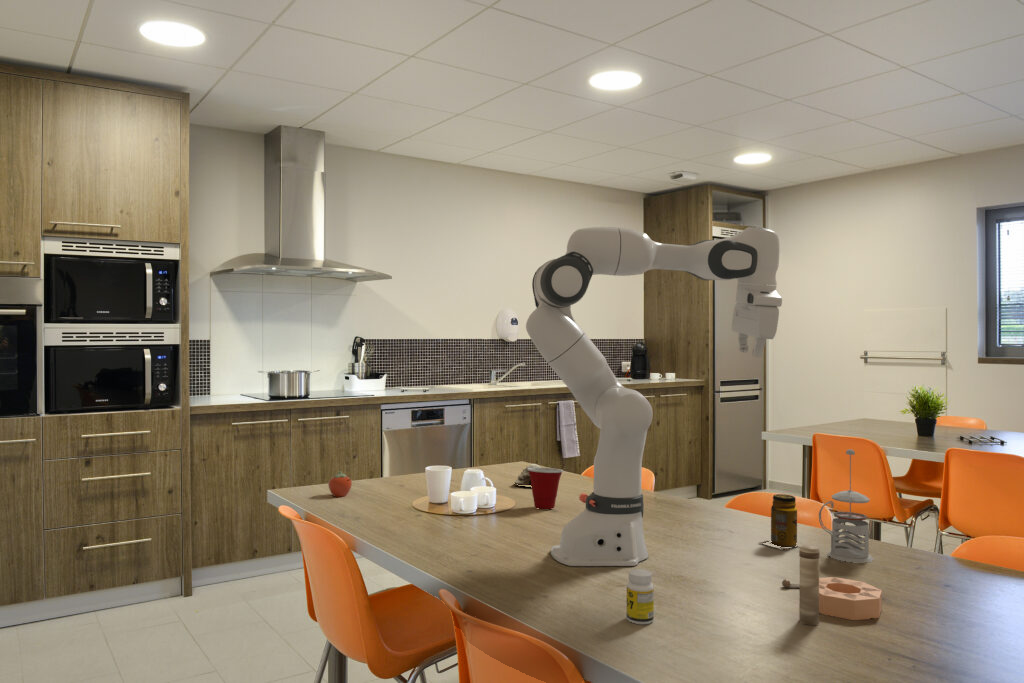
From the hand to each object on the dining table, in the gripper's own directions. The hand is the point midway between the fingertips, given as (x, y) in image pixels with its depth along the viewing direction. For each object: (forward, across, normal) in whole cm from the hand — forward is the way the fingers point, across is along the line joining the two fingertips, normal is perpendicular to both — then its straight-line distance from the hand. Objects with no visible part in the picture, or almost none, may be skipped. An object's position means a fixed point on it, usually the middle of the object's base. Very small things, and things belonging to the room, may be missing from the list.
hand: (749, 354), depth 173 cm
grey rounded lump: (+59, -76, -45) cm, 106 cm away
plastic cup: (+54, -40, -43) cm, 80 cm away
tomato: (+60, -57, -107) cm, 136 cm away
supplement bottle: (+44, +49, -33) cm, 73 cm away
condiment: (+47, 0, +12) cm, 48 cm away
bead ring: (+42, +42, +7) cm, 60 cm away
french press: (+45, +10, +24) cm, 52 cm away
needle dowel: (+42, +50, -3) cm, 65 cm away
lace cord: (+43, +32, +9) cm, 54 cm away
